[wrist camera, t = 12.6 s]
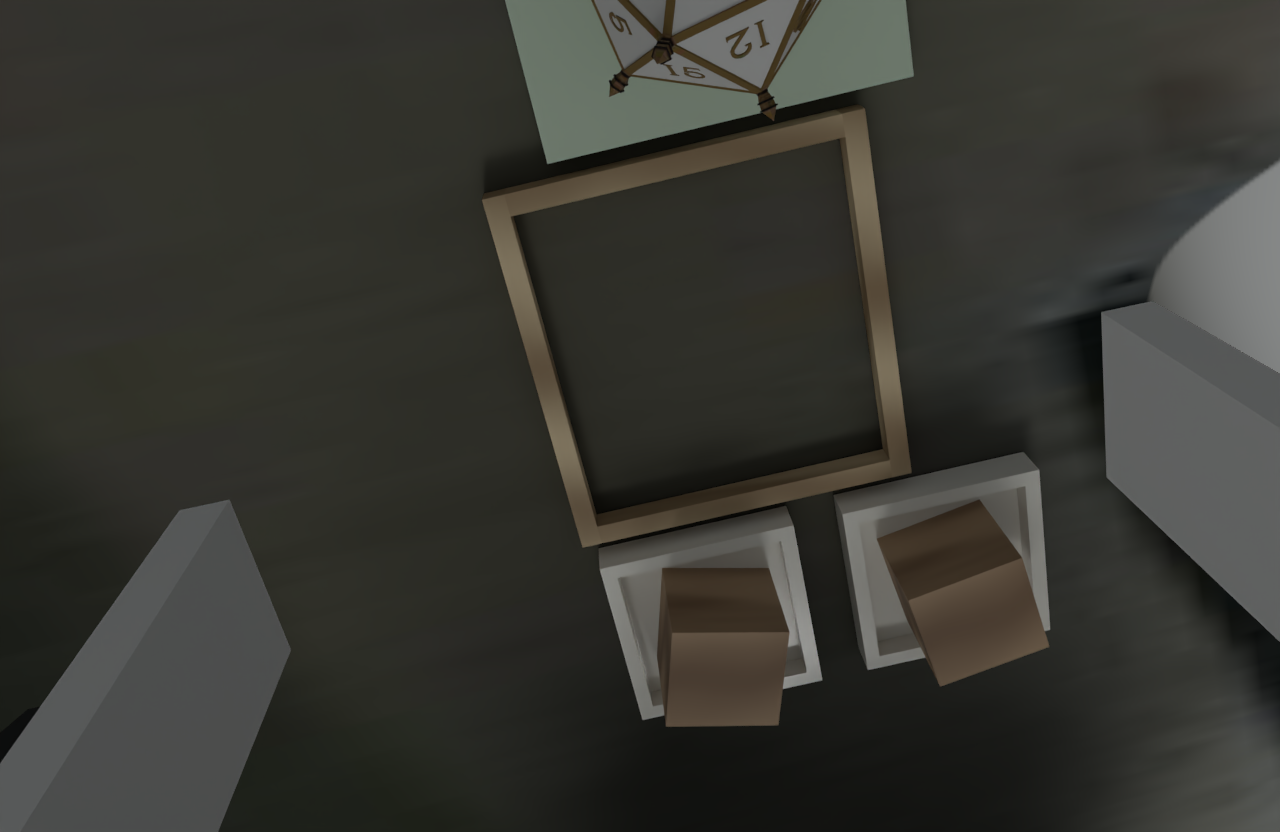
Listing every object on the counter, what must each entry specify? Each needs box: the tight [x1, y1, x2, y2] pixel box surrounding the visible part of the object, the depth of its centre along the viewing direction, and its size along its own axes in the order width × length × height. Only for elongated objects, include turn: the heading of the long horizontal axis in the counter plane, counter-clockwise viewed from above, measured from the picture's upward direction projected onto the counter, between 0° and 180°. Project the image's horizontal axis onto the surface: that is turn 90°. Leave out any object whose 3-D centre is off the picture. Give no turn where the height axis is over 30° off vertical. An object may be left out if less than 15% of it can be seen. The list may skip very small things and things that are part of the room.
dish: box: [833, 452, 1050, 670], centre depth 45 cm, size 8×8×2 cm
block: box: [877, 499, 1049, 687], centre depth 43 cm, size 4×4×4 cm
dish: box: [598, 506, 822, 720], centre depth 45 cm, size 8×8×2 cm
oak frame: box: [482, 104, 912, 548], centre depth 40 cm, size 15×14×1 cm
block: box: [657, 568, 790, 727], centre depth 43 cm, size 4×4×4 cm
